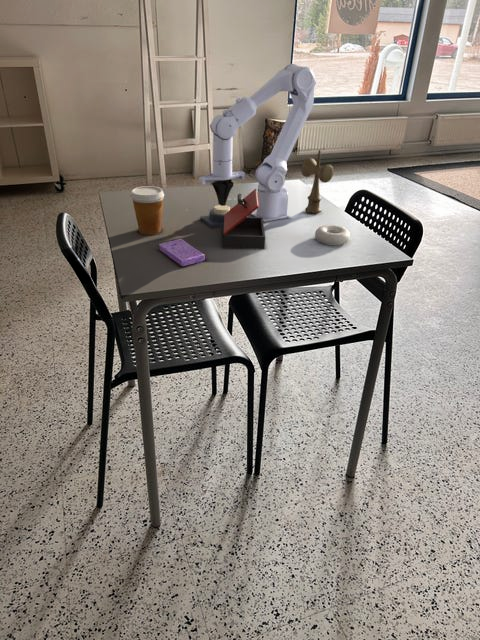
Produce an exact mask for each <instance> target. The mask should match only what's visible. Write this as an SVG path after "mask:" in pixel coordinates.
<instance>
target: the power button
mask: <svg viewBox="0 0 480 640" xmlns="http://www.w3.org/2000/svg"><path fill="white" fill-rule="evenodd" d="M213 209H214V213H215V214H219V215H225V214H226V213H227V212H228V211H229V210H230V209H231V207H230V206H229V205H227V204H226V205H225V206H221V205H219V204H217V205H215V206H214V208H213Z"/></svg>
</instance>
